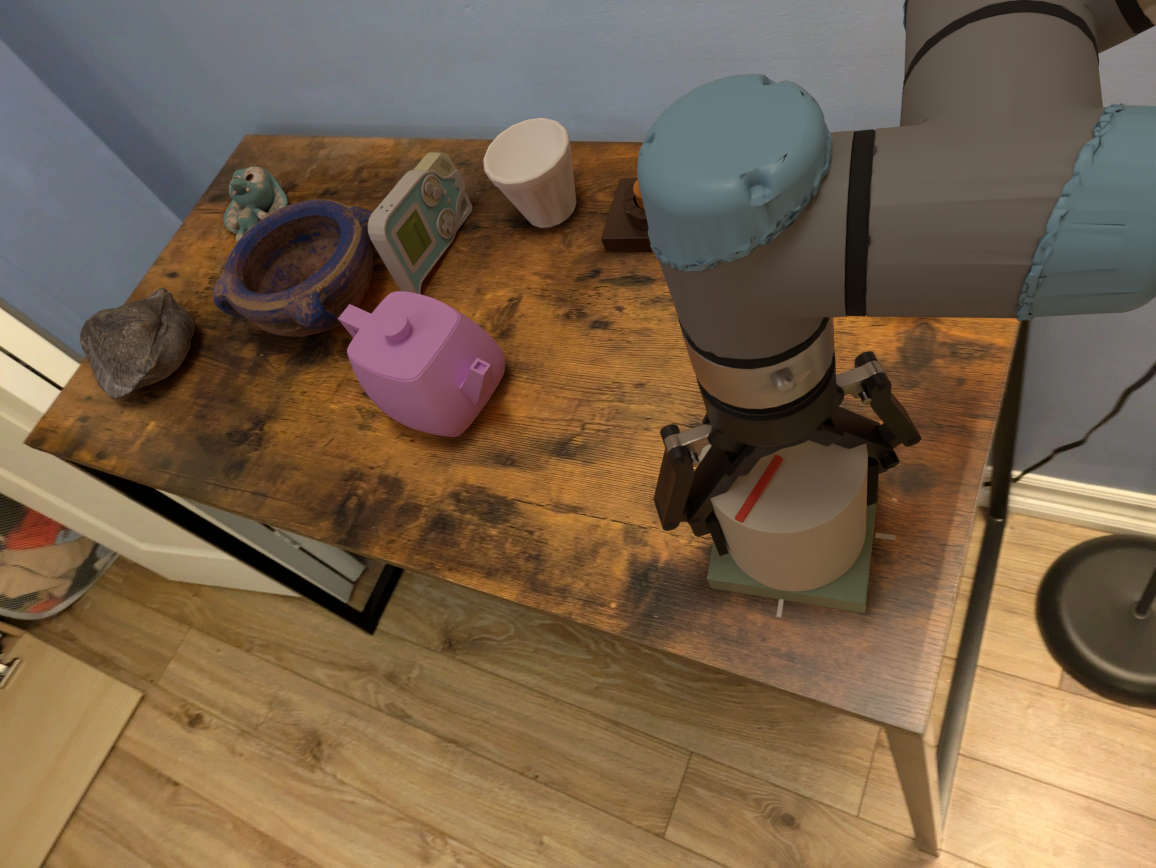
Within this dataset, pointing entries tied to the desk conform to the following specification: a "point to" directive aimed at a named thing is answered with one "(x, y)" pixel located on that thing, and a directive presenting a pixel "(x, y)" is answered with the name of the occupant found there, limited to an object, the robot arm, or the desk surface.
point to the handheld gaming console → (419, 220)
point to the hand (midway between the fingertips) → (790, 514)
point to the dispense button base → (626, 222)
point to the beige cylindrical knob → (797, 515)
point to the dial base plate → (837, 595)
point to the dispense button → (638, 194)
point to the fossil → (137, 342)
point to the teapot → (423, 362)
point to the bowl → (299, 268)
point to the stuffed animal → (252, 199)
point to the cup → (534, 170)
